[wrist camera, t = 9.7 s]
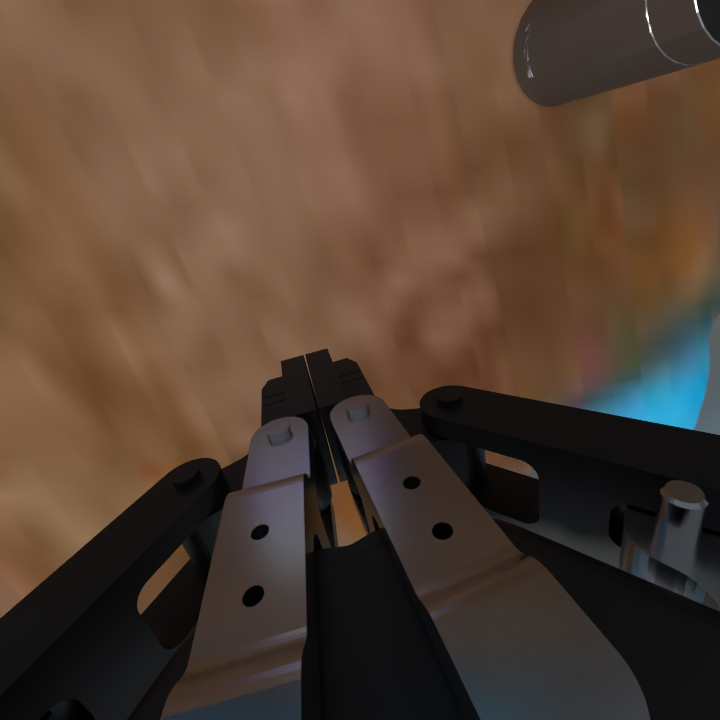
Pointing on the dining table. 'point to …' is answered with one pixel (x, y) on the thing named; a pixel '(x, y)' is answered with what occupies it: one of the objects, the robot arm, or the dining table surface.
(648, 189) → the dining table surface
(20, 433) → the dining table surface
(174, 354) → the dining table surface
